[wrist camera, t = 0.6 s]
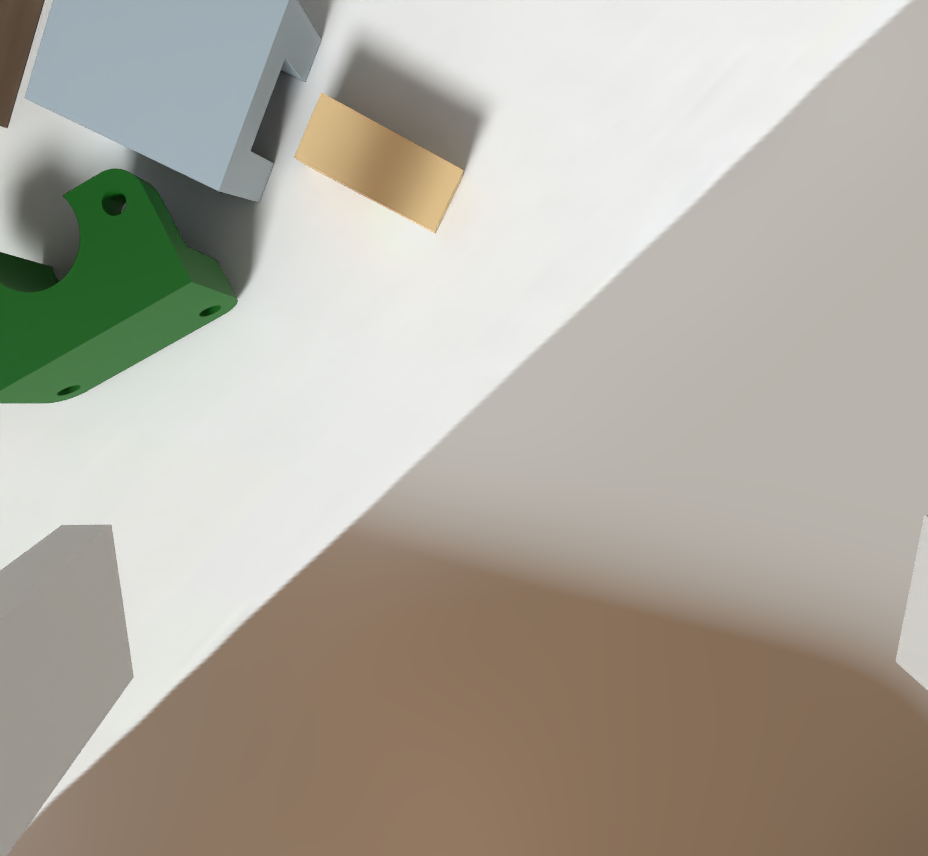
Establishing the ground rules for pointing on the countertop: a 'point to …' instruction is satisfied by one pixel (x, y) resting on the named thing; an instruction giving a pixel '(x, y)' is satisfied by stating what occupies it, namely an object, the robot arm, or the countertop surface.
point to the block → (175, 78)
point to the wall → (15, 48)
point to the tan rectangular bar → (378, 163)
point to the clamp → (104, 295)
